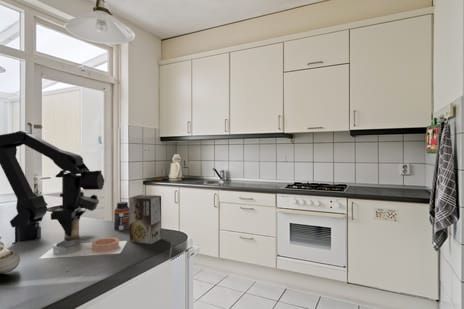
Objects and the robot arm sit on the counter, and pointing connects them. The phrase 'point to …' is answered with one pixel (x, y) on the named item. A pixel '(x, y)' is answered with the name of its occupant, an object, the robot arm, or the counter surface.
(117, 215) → the supplement bottle
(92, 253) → the socket board
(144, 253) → the counter surface
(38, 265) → the counter surface
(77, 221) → the banded peg
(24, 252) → the counter surface
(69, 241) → the grey ring
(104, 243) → the terracotta socket
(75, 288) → the counter surface
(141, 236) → the coffee box
